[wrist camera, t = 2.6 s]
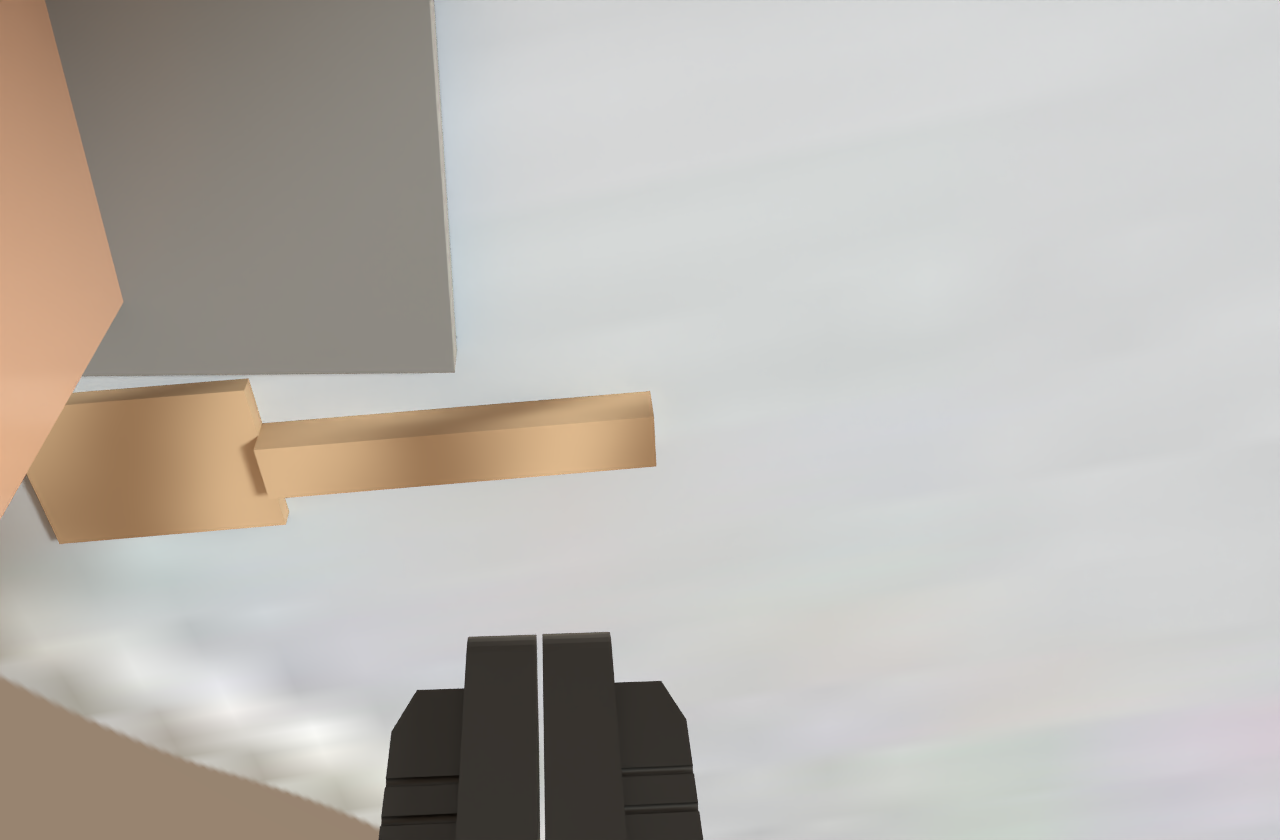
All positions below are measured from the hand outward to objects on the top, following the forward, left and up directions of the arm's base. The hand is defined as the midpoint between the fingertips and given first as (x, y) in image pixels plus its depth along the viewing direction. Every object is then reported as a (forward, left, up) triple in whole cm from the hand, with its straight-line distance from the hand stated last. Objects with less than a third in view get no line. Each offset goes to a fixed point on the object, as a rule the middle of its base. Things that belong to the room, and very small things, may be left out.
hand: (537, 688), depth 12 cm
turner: (+9, -5, -16) cm, 19 cm away
